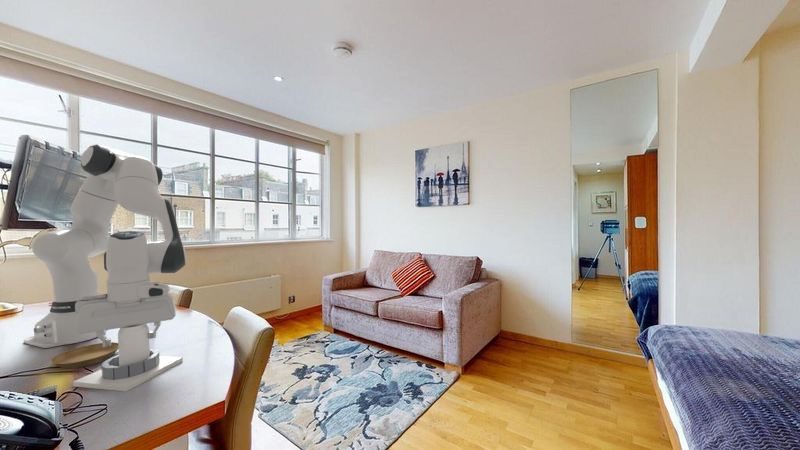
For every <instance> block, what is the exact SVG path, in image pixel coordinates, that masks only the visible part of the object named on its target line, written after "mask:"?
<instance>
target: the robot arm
mask: <svg viewBox="0 0 800 450" xmlns="http://www.w3.org/2000/svg"><path fill="white" fill-rule="evenodd" d="M80 167H81V169H83V171H84V172H86V173H87V174H89V175H87V177H86V179H84V181H83V183H82V184H81V186H80V188H79V190H78V192H77V194H76V195H75V197H74V200H73V202H72V203H71V205H70V208H69V211H70V213H71V215H72V224H71V227H70V228H69V229H56V230H53V231H49V232H46V233H43V234H40V235H39V236H37V237H36V238H35V239H34V241H33V242H32V246H31V250H32V252H33V254H34V256H35V257H36V258H38V259H39V260H40V261H42V262H43V263H44V264H45V265H46V267H47V268H48V269H47V270H48V271H49V273H50V277H51V279H52V284H53V285H52V286H53V288H52V289H53V301H52V302H49V303H48V307H50V309H49V313H47V314H46V316H44V317H43V318H41V319H40V320H39V321H37V322H36V323H35V324H34V328H33V332H34V333H33V335H32V336H29V337H27V338H26V339H24V340H23V343H24V344H27V345H31V346H35V347H37V348H38V347H39V348H42V349H47V348H53V347H58V346H65V345H72V344H76V343H82V342H87V341H89V340H92V339H95V338H98V339H99V340H100V341H101V343H103V347H108V346H111V342H112V337H108V338H107V337H106V336H105V334H106V332H107V331H109V330H116V329H120V328H122V327H129V326H135V325H141V324H147V325H148V324H153V326H154V328H153V330H149V340H151V339H156V338H157V331H158V329H159V328H160V326H161V323H162V322H165V321H172V320H173V319H175V317H176V304H175V301H174V300H175V299H174V296H173V295H172V294H171V293H170V290H171V289H170V286H169V284H164V283H158V282H151V280H150V278H151V277H150V275H151V274H176V273H177V272H178V271H180V270H181V269H183V268H184V267H185V266H186V263H187V259H188V258H187V257H188V256H187V251H186V248H185V245H184V244H183V242H182V238H181V235H180V231H179V227H178V223H177V220H176V216H175V213H174V210H173V206H172V204H171V202H170V200H169V199H167V198H166V197H163V196H162V195H161V193H160V191H159V186H160V184H161V183H162V181H163V175H164V173H163V170H162V168H161V167H159V166H158V165H156V164H154V163H153V162H152V161H150V160H149V159H148V158H146V157H143V156H138V155H134V154H129V153H127V152H123V151H121V150H118V149H113V148H111V147H109V146H106V145H101V144H93V145H90V146H89V147H87V148H86V149H85V150H84V151H83V153H82V155H81V158H80ZM118 206H120V207H122V208H123V209H125V210H126V211H128V212H131V213H134V214H137V215H140V216H141V215H142V216H145V217H149V218H151V219H154V220H156V221H158V222H160V224H161V228H162V231H163V235H164V239H163V240H161V241H147V236H146V234H145V233H144V232H140V231H131V230H130V231H129V230H128V231H120V232H119V231H118V232H114V233H112V234H111V235H109V229H110V224H111V222H112V221H111V220H112V218H113V216H114V214H115V211H116V209H117V207H118ZM101 254H103V269H104V270H105V271H106V272H107V273H108V274H107V275H108V277H107V279H106V293H104V294H99V275H98V274H97V272H95V271H94V270H93V269H92V267H91V265H90V263H89V262H90V261H89V259H90V258H94V257H97V256H99V255H101ZM88 258H89V259H88Z"/></svg>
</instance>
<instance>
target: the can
mask: <svg viewBox="0 0 800 450" xmlns="http://www.w3.org/2000/svg"><path fill="white" fill-rule="evenodd" d="M149 332H150V327H149V325H148V323H147V324H141V325H135V326H129V327H122V328H119V329H118V332H117V343H118V350H117V351H118V355H119V366H121V365H128V364H132V363H136V362H139V361H142V360H144V359H147V358H149V357H150V349H151V348H150V347H151V346H150V339H149Z"/></svg>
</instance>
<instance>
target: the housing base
mask: <svg viewBox="0 0 800 450" xmlns="http://www.w3.org/2000/svg"><path fill="white" fill-rule="evenodd" d="M183 359H184V358H183V357H182V356H167V355H160V351H159V350H158V349H157V348H150V357H149V358H147V359H144V360H142V361H139V362H136V363H132V364H128V365H121V366H119V354H116V355H114V356H111V357H109V358H107V359H106V360H104V361H102V363H101V369H99V370H96V371H94V372H92V373H89V374H88V375H85V376H83V377H81V378H78V379H76V380H73V381H72V387H75V388H76V387H77V388H85V389H86V388H87V389H97V390H98V389H99V390H105V391H116V392H117V391H118V392H128V391H129V390H132V389H134V388H136V387H137V386H139V385H141V384H143V383H145V382H147V381H148V380H151V379H152V378H154V377H156V376H158V375H160V374H162V373H164V372H165V371H168V370H169V369H171V368H173V367H175V366H177V365H179V364H181V363H183V361H184V360H183Z"/></svg>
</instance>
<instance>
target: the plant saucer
mask: <svg viewBox="0 0 800 450" xmlns="http://www.w3.org/2000/svg"><path fill="white" fill-rule="evenodd" d="M117 351H119V350H118V342H112V341H111V346H108V347H103V342H99V343H93V344H88V345H84V346H80V347H76V348H72V349H70V350H66V351H63V352H61V353H59V354H57V355H55V356H54V357H52V358H51V359H50V363H51V364H53V365H54V366H56V367H59V368H62V369H77V368H82V367H87V366H91V365H95V364H98V363H100V362H104V361H106V360H107V359H109V358H111V357H113V355H115V353H116V352H117Z"/></svg>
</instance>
